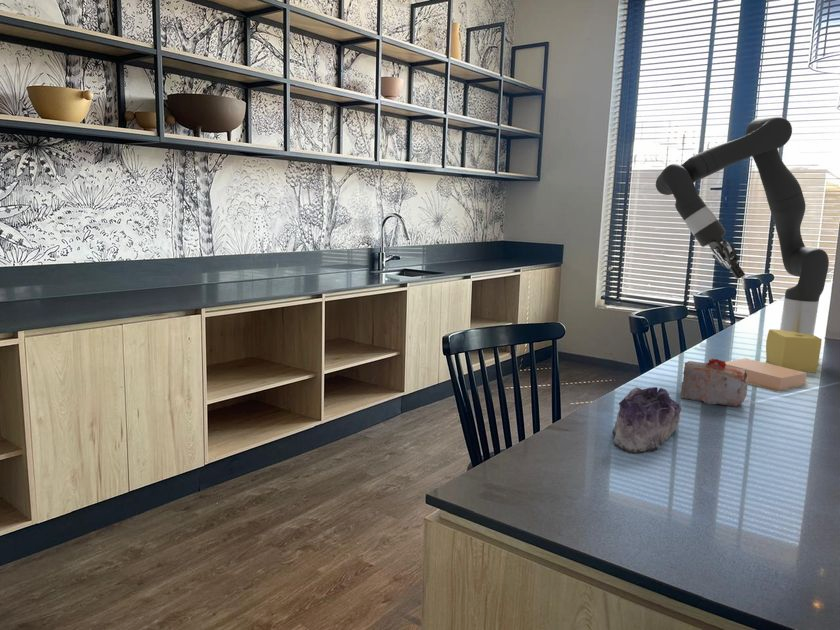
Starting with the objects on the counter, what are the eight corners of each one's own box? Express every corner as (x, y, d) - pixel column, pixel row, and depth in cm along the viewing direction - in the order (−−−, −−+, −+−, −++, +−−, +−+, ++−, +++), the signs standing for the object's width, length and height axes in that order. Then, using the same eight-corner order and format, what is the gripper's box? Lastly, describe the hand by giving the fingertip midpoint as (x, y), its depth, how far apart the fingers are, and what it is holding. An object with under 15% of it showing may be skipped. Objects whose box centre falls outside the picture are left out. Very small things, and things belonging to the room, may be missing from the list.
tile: (746, 358, 175) (806, 372, 162) (744, 369, 176) (805, 384, 163) (720, 362, 169) (781, 378, 156) (719, 373, 169) (779, 390, 156)
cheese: (800, 364, 187) (805, 330, 185) (818, 374, 177) (824, 338, 175) (763, 362, 188) (767, 328, 186) (779, 371, 177) (784, 336, 176)
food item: (744, 401, 147) (750, 360, 146) (744, 411, 140) (750, 367, 138) (680, 391, 153) (685, 351, 151) (678, 400, 146) (683, 358, 144)
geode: (669, 463, 110) (667, 407, 108) (602, 456, 115) (599, 403, 114) (687, 426, 127) (685, 377, 125) (627, 421, 133) (625, 374, 131)
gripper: (723, 213, 175) (761, 266, 172) (710, 224, 188) (745, 273, 185) (698, 228, 175) (736, 281, 173) (687, 238, 188) (722, 287, 186)
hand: (741, 277), depth 179 cm, fingers closed
